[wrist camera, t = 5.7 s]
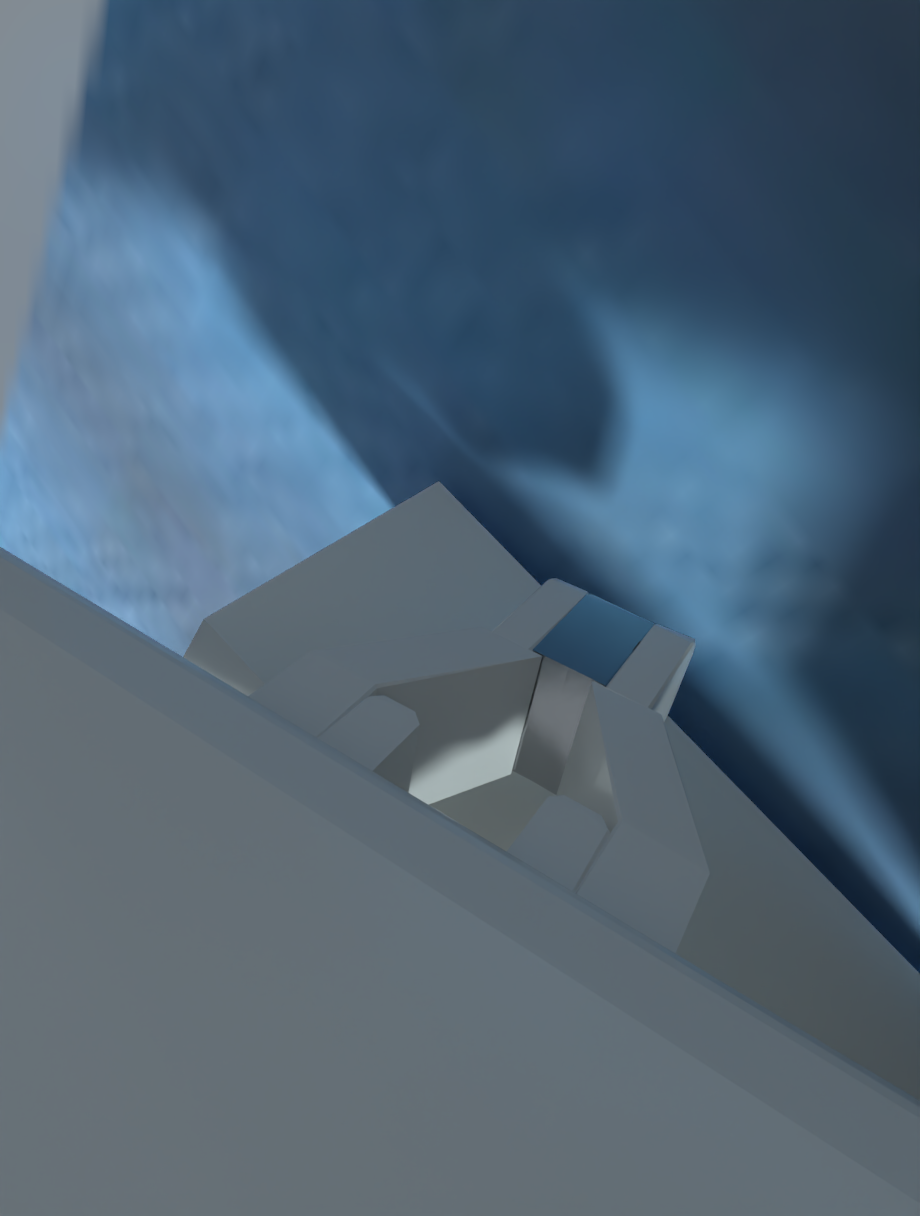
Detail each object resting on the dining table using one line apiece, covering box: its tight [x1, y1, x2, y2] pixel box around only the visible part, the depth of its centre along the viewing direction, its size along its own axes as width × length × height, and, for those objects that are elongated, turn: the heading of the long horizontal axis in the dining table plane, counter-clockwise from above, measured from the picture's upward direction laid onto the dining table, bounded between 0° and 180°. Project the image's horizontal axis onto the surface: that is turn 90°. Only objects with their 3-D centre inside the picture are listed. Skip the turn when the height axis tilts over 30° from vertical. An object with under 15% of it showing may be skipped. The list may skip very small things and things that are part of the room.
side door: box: [183, 481, 920, 1100], centre depth 11 cm, size 12×2×5 cm, turn 54°
